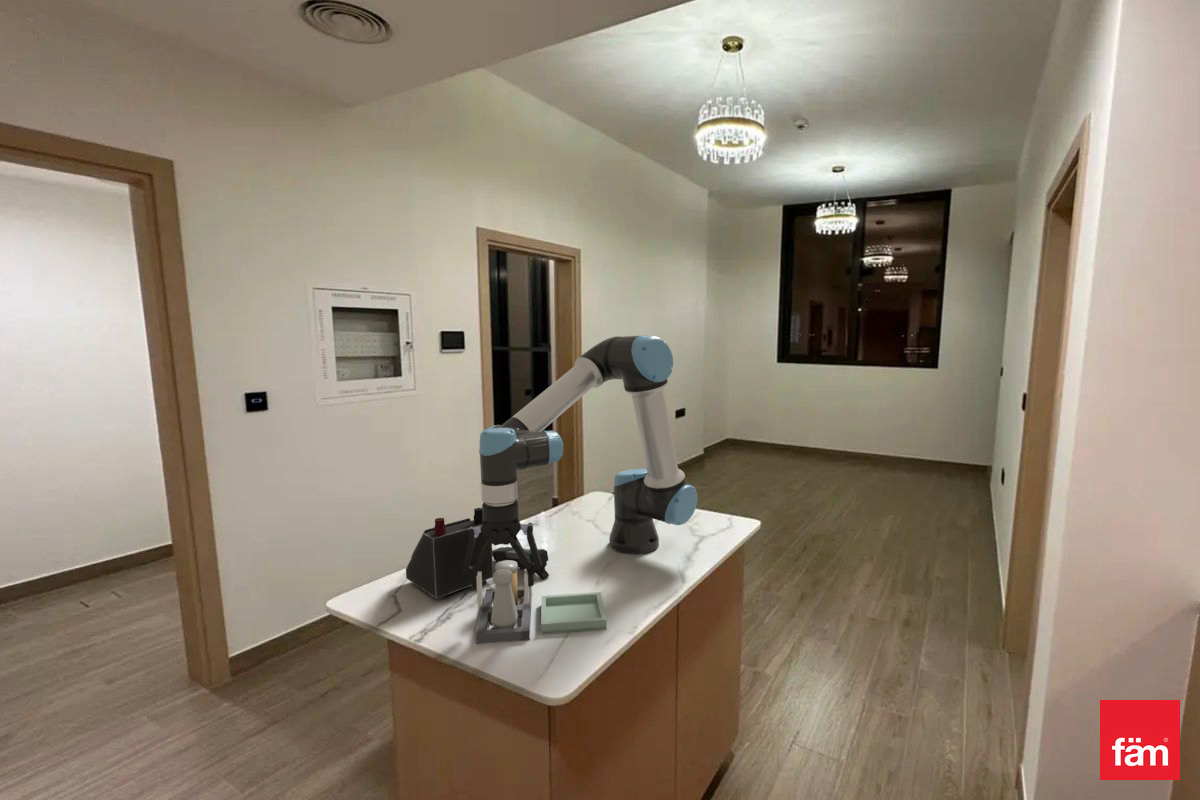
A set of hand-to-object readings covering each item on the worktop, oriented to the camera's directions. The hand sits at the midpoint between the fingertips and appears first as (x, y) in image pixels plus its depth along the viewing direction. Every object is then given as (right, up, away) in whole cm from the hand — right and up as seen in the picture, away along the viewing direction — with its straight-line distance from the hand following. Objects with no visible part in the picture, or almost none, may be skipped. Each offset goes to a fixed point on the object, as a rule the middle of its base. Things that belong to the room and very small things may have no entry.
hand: (503, 601), depth 117 cm
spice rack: (0, -5, +6) cm, 8 cm away
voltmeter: (-18, -4, +24) cm, 30 cm away
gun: (-1, -3, +32) cm, 32 cm away
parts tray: (+15, -5, +5) cm, 16 cm away
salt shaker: (0, -6, +1) cm, 6 cm away
